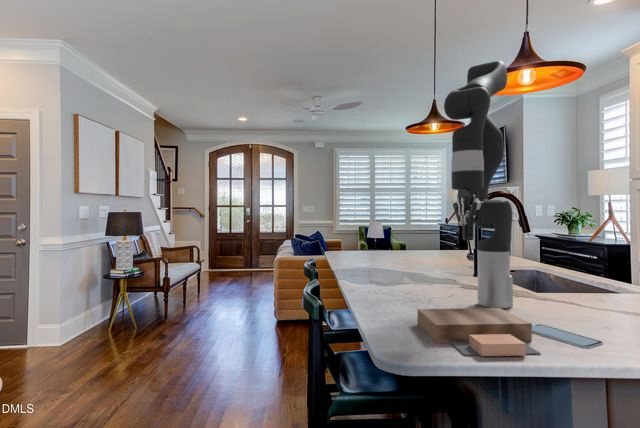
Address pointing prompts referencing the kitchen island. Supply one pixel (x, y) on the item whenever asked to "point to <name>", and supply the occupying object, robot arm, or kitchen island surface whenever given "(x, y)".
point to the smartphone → (565, 336)
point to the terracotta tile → (497, 345)
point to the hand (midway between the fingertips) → (467, 239)
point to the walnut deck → (471, 324)
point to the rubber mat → (469, 351)
